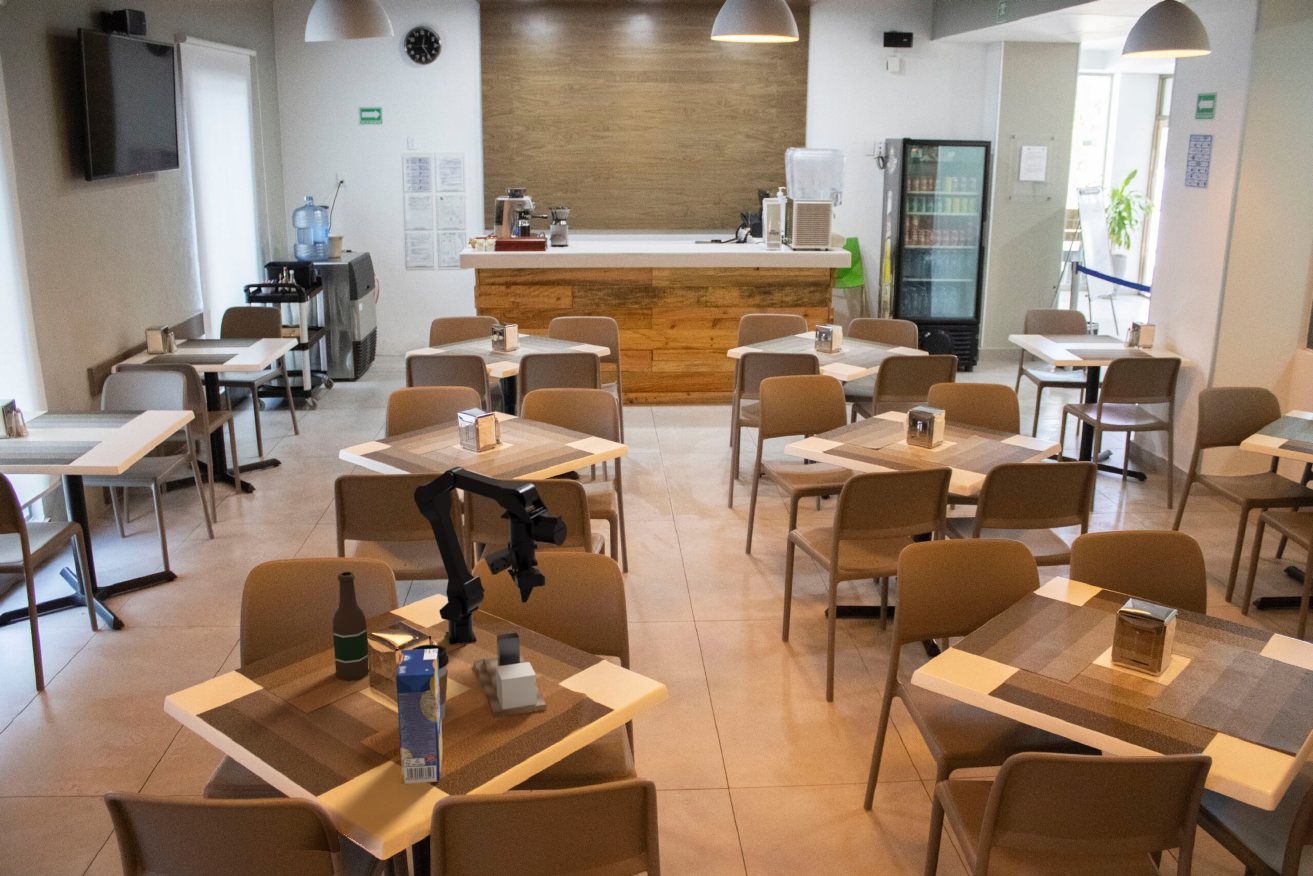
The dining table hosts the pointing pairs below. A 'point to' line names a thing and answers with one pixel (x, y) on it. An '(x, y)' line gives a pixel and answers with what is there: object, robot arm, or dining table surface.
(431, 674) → the beverage box
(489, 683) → the rail
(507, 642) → the dark grey rectangular block
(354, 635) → the beer bottle
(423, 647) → the coffee cup
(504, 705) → the socket
